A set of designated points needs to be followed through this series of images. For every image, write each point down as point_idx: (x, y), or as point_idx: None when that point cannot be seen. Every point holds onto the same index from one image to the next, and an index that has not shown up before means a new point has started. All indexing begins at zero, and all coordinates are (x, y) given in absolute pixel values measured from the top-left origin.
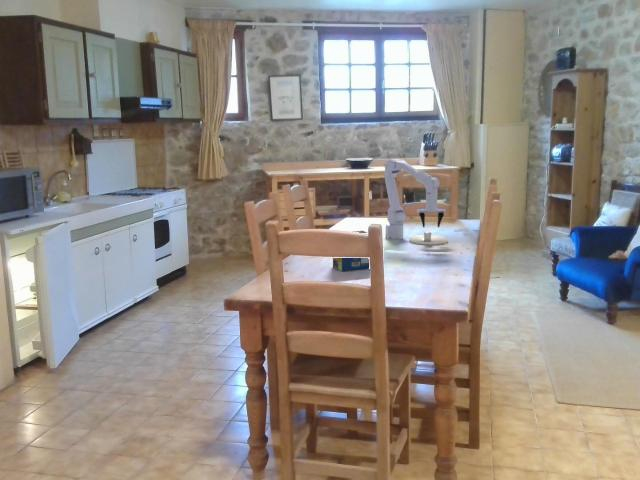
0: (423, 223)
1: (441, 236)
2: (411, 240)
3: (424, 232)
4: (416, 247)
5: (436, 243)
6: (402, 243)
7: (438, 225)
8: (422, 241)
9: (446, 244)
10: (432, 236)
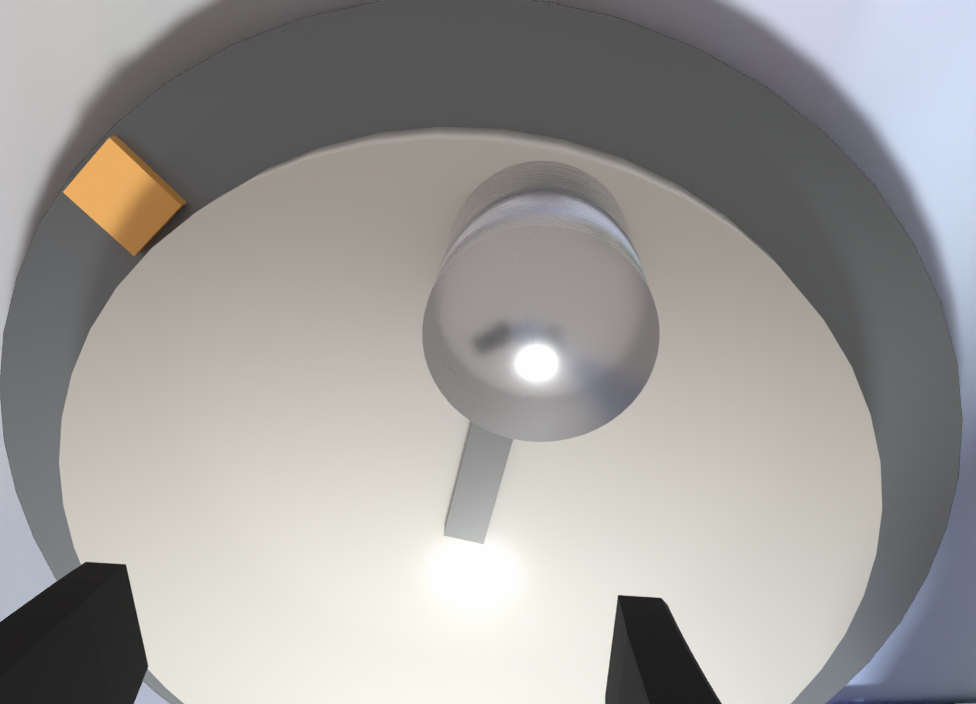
0: (701, 702)
1: (182, 685)
2: (871, 440)
3: (633, 398)
4: (814, 122)
5: (332, 147)
6: (958, 533)
7: (77, 596)
8: (672, 236)
9: (104, 141)
10: (350, 701)
